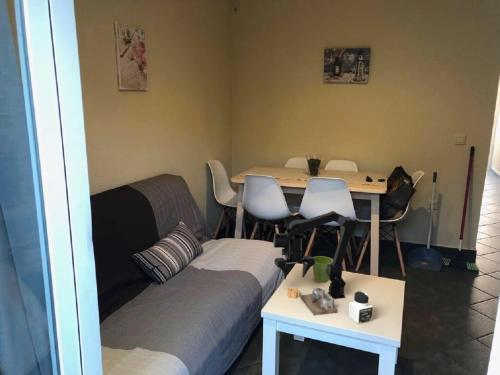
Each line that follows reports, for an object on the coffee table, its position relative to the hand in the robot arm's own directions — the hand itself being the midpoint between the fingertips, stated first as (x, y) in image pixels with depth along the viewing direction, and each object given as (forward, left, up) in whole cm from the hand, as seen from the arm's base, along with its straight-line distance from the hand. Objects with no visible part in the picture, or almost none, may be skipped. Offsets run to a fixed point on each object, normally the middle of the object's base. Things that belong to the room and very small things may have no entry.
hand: (294, 278), depth 196 cm
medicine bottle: (-21, +27, -9) cm, 35 cm away
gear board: (-8, +11, -9) cm, 17 cm away
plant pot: (-21, -15, -9) cm, 27 cm away
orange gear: (0, 0, -9) cm, 9 cm away
